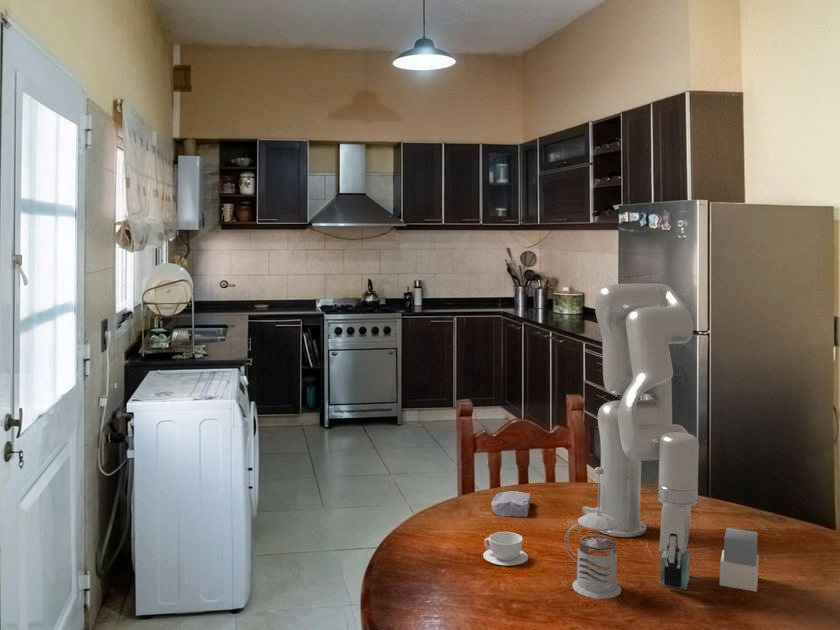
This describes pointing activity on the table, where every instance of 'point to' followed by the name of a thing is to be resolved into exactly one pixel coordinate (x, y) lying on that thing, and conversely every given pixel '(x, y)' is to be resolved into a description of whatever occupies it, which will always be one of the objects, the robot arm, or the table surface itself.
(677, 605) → the table surface
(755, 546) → the tower top
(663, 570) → the teal pillar
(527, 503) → the stone block
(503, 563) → the teacup
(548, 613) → the table surface
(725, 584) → the block
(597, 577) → the french press
